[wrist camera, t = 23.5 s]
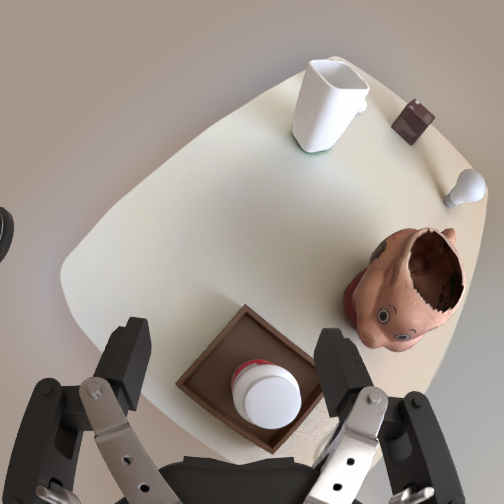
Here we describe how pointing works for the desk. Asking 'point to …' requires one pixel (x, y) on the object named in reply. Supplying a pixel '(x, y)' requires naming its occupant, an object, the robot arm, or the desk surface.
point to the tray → (231, 357)
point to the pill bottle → (265, 394)
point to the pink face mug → (406, 288)
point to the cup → (327, 103)
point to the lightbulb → (466, 188)
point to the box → (413, 121)
